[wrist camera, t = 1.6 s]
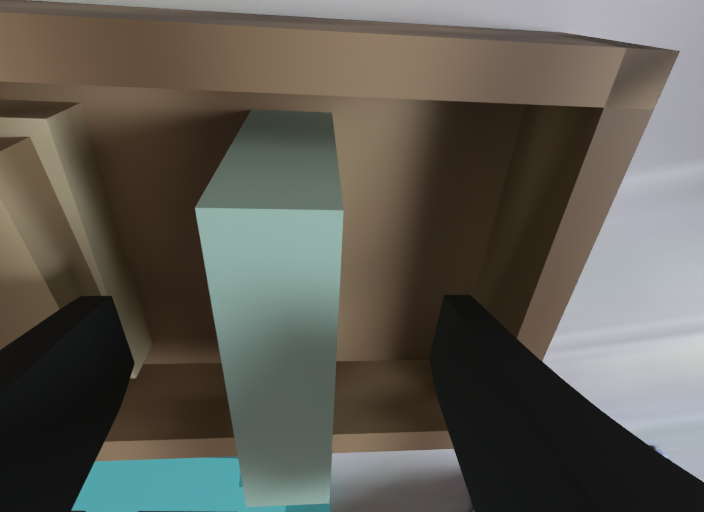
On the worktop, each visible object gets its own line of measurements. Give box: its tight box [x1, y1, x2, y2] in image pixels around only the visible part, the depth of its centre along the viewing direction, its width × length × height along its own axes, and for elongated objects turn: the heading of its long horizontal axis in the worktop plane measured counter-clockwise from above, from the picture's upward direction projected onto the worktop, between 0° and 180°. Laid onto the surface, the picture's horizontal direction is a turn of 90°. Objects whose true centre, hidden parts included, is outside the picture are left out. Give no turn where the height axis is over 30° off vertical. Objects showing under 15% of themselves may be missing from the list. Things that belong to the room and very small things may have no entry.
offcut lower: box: [0, 99, 152, 378], centre depth 11 cm, size 4×8×2 cm, turn 177°
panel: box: [195, 109, 344, 507], centre depth 10 cm, size 2×8×6 cm, turn 177°
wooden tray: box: [0, 0, 680, 461], centre depth 11 cm, size 18×12×4 cm, turn 87°
